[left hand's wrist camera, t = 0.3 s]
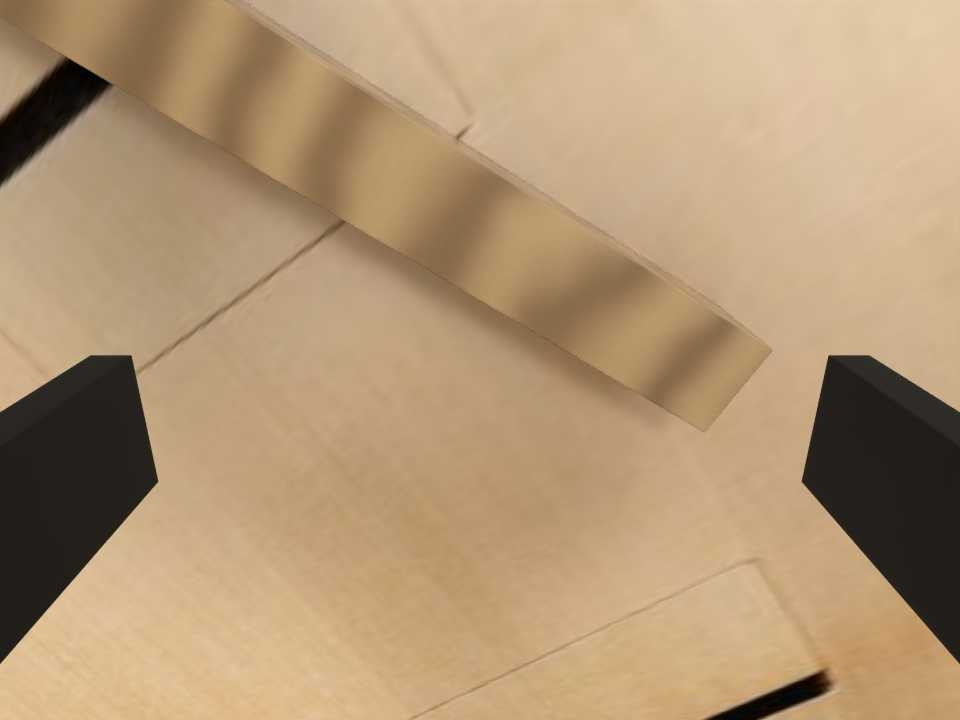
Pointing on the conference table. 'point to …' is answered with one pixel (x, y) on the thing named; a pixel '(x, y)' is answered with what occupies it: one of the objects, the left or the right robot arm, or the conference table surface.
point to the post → (408, 188)
